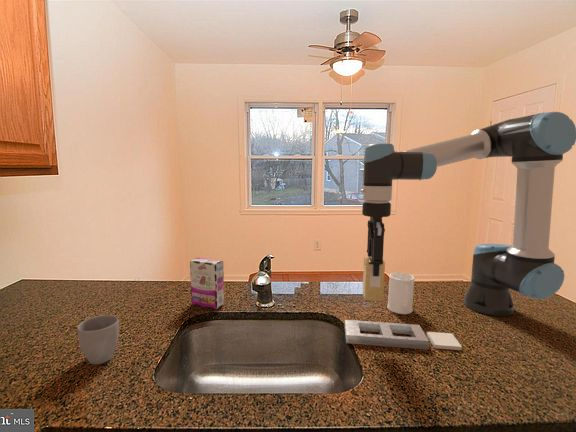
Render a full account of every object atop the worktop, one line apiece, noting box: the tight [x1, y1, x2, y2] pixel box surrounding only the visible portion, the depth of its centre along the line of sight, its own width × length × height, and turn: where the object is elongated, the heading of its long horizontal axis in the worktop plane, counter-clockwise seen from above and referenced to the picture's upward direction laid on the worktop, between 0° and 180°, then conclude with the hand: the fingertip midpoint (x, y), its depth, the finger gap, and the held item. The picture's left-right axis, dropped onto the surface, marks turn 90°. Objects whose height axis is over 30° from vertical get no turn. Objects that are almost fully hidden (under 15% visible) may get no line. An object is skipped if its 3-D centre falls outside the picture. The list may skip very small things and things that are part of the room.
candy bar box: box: [189, 257, 225, 310], centre depth 109 cm, size 11×5×16 cm, turn 68°
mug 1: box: [77, 314, 120, 365], centre depth 79 cm, size 12×9×10 cm
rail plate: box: [344, 319, 430, 350], centre depth 89 cm, size 22×9×2 cm, turn 83°
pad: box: [426, 331, 463, 351], centre depth 87 cm, size 7×7×1 cm
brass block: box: [362, 256, 386, 302], centre depth 87 cm, size 5×5×12 cm
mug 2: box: [386, 272, 415, 315], centre depth 106 cm, size 12×8×12 cm
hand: (373, 282), depth 87 cm, fingers closed on brass block, 5 cm apart
